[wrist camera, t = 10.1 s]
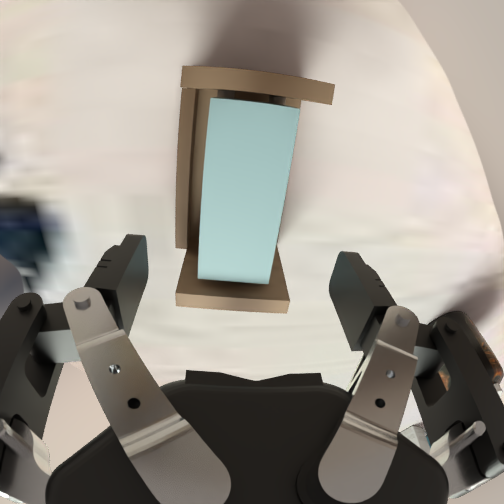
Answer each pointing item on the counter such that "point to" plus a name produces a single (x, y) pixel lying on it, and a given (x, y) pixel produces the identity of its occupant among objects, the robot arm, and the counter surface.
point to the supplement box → (417, 437)
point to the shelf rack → (191, 179)
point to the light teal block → (244, 187)
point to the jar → (480, 348)
